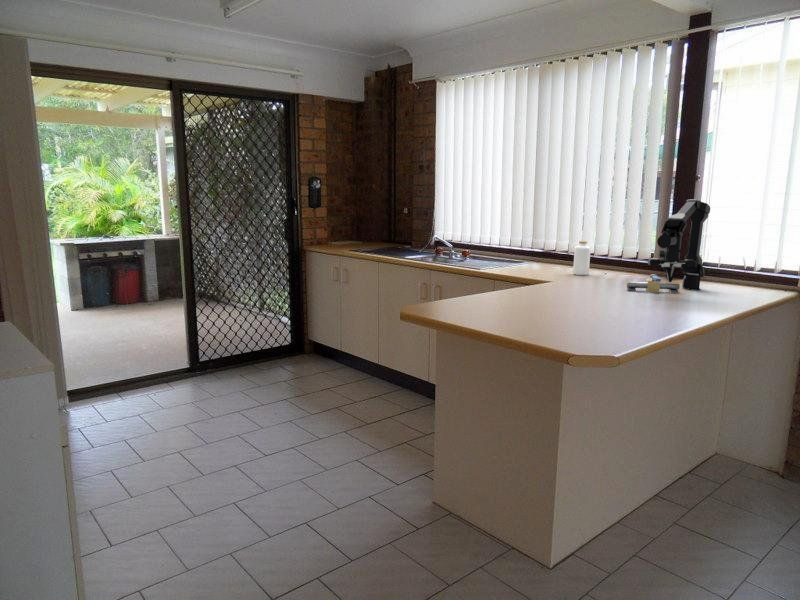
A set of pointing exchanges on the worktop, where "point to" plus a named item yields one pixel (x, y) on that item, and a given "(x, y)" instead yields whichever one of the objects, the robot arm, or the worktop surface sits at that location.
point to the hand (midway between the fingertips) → (669, 281)
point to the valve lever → (655, 277)
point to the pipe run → (653, 286)
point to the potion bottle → (581, 259)
